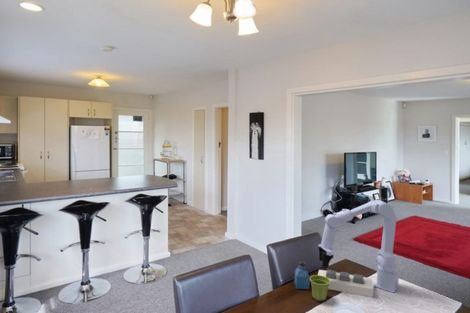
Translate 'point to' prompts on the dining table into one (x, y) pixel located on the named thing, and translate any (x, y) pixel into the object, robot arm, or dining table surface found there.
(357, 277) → the button
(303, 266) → the perfume bottle
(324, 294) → the plant pot
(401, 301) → the dining table surface
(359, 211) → the robot arm
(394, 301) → the dining table surface
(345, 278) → the button middle
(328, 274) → the button
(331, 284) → the button panel
